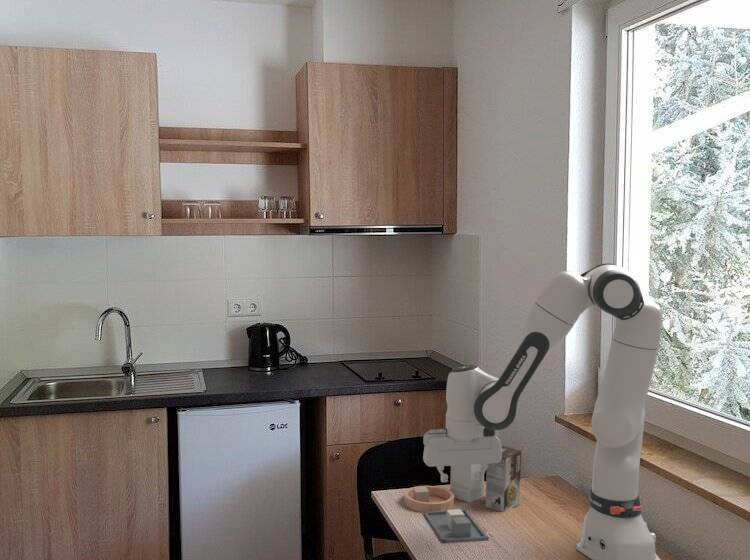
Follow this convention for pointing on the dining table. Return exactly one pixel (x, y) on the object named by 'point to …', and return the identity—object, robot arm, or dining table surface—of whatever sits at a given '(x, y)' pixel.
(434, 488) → the bowl
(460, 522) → the grey cube
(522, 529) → the dining table surface
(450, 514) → the beige cube
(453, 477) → the supplement box
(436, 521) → the tray
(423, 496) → the cube
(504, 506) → the coffee box
